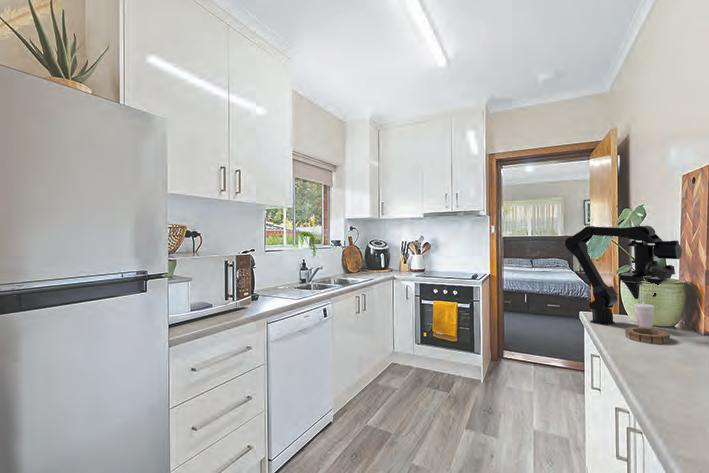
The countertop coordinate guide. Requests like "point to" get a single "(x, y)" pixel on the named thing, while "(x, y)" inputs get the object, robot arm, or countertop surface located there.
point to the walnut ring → (647, 335)
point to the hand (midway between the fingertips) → (645, 297)
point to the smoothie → (644, 314)
